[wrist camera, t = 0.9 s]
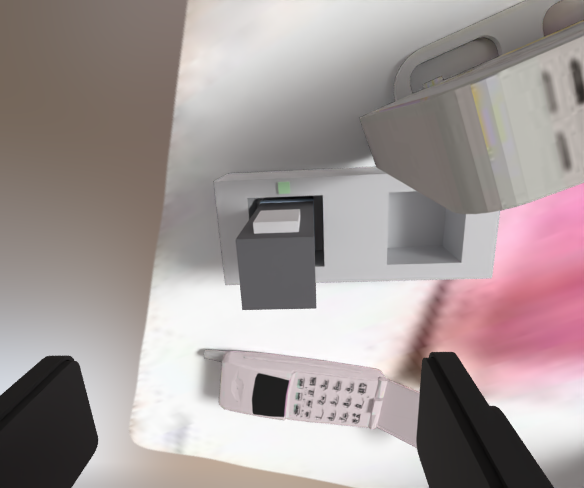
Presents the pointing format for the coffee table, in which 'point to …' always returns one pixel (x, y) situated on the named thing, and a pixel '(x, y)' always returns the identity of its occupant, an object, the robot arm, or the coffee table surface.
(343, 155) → the coffee table surface
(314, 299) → the plug
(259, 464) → the coffee table surface
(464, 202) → the network device
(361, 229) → the socket block
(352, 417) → the mobile phone
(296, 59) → the coffee table surface
